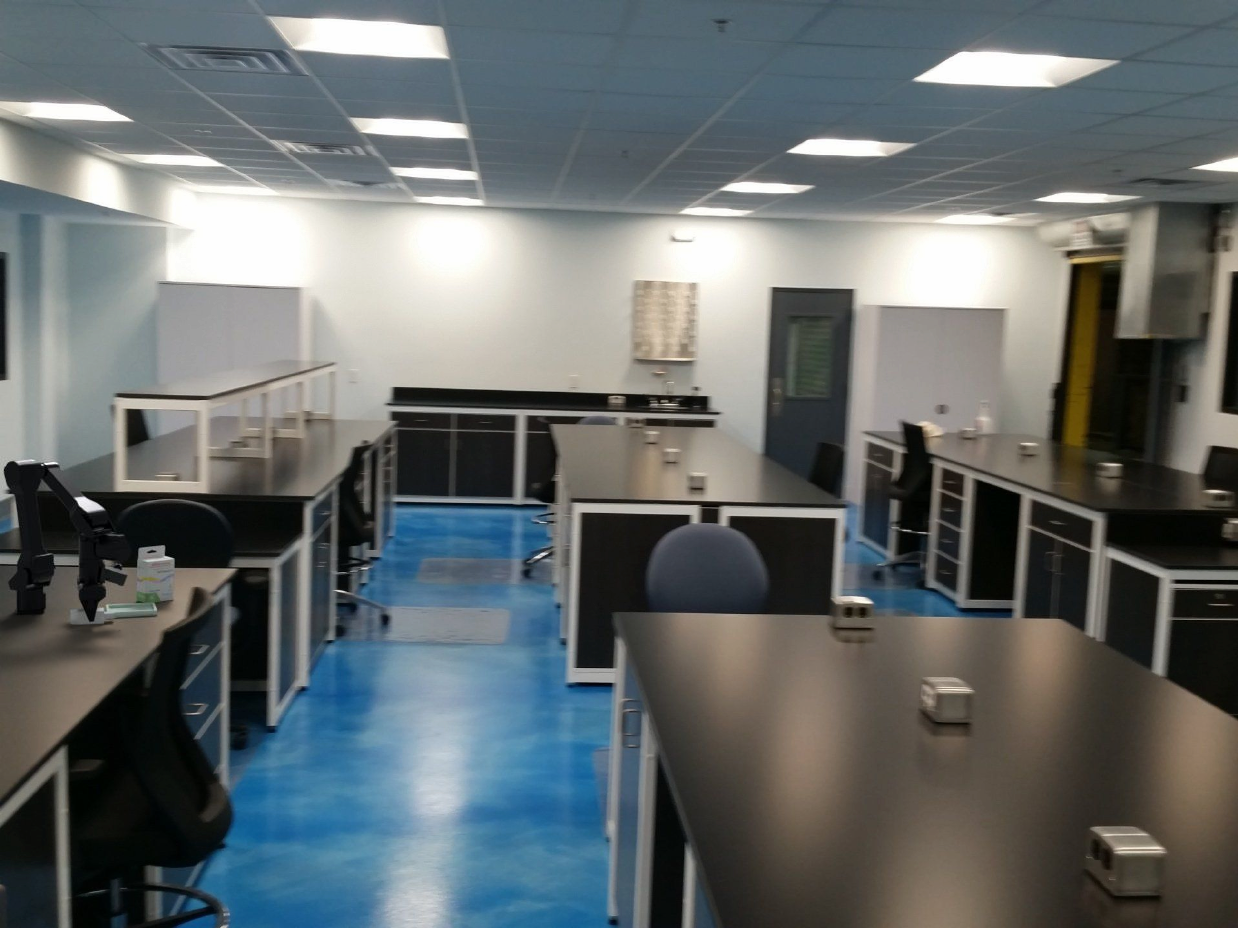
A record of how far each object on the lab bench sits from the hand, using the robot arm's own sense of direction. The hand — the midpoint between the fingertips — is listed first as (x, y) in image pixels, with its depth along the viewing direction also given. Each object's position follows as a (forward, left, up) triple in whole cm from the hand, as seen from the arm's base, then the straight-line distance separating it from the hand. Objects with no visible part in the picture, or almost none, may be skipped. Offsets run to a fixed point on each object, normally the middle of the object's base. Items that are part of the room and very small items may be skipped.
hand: (90, 617), depth 300 cm
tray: (+10, +8, -1) cm, 13 cm away
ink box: (+17, +21, -1) cm, 27 cm away
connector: (0, 0, -1) cm, 1 cm away
